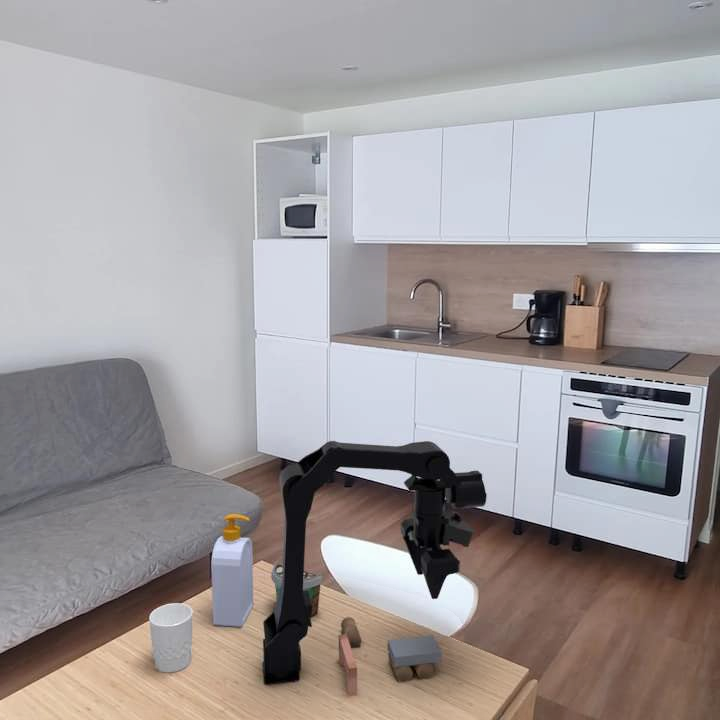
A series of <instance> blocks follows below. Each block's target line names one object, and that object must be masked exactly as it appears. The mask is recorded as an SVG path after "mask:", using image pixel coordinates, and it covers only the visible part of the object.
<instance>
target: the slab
mask: <svg viewBox="0 0 720 720" xmlns="http://www.w3.org/2000/svg"><path fill="white" fill-rule="evenodd" d="M387 651H388V653H389V654H390V657H391V659H392V662H393V664H394V667H401V666H410V667H411V666H413V665H418V664H425V663H430V664H433V663H441V662H442V657H443V656H442V655H443V651H442V649H441V647H440V646H439V644H438V642H437V641H436V638H435V637H434V635H433V634H430V635H420V636H412V637H402V638H396V639H395V638H394V639H387Z"/></svg>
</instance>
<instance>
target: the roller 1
mask: <svg viewBox="0 0 720 720" xmlns="http://www.w3.org/2000/svg"><path fill="white" fill-rule="evenodd" d="M340 626H341V630H342V633H343V634H347V637H348V640H349V644H350V647H351V649H355V648H359V647H360V646H361V644H362V638H361V634H360V632H359V629H358V626H357V624H356V621H355V618H353V617H349V616H348V617H345V618H343V619H342V620H341V623H340Z"/></svg>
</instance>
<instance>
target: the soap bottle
mask: <svg viewBox="0 0 720 720" xmlns="http://www.w3.org/2000/svg"><path fill="white" fill-rule="evenodd" d="M236 520H242V521H244V522H249V521H250V518H249V517H247V516H245V515H242V514H237V513H231V514H227V515H226V516H225V517H224V518H223V519H222V521H223V522H225V521H227V522H228V525H227V526H224V527H223V528H222V534H223V535H221V536H220V537H219V538H217V540H216V542H215V543H214V547H213V550H212V554H211V563H210V566H211V595H212V596H211V599H212V600H211V601H212V624H213V626H223V627H224V626H225V627H235V628H236V627H238V628H242V627H243V626H244V624H245V622H246V620H247V619H248V616H249V614H250V613H251V611H252V609H253V606H254V580H253V579H254V576H253V575H254V574H253V572H254V569H253V568H254V566H253V543H252V540H251V538H249V537H241V527H240V526H238V525H235V524H236V523H235V521H236Z"/></svg>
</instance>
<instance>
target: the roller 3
mask: <svg viewBox="0 0 720 720" xmlns="http://www.w3.org/2000/svg"><path fill="white" fill-rule="evenodd" d="M412 667H413V668H414V669H415V672H416V674H417V676H418V678H419V679H420V680H427V679H430V678H431V677H432V676H433V674H434V668H433V667H432V663H425V664H418V665H412Z"/></svg>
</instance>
